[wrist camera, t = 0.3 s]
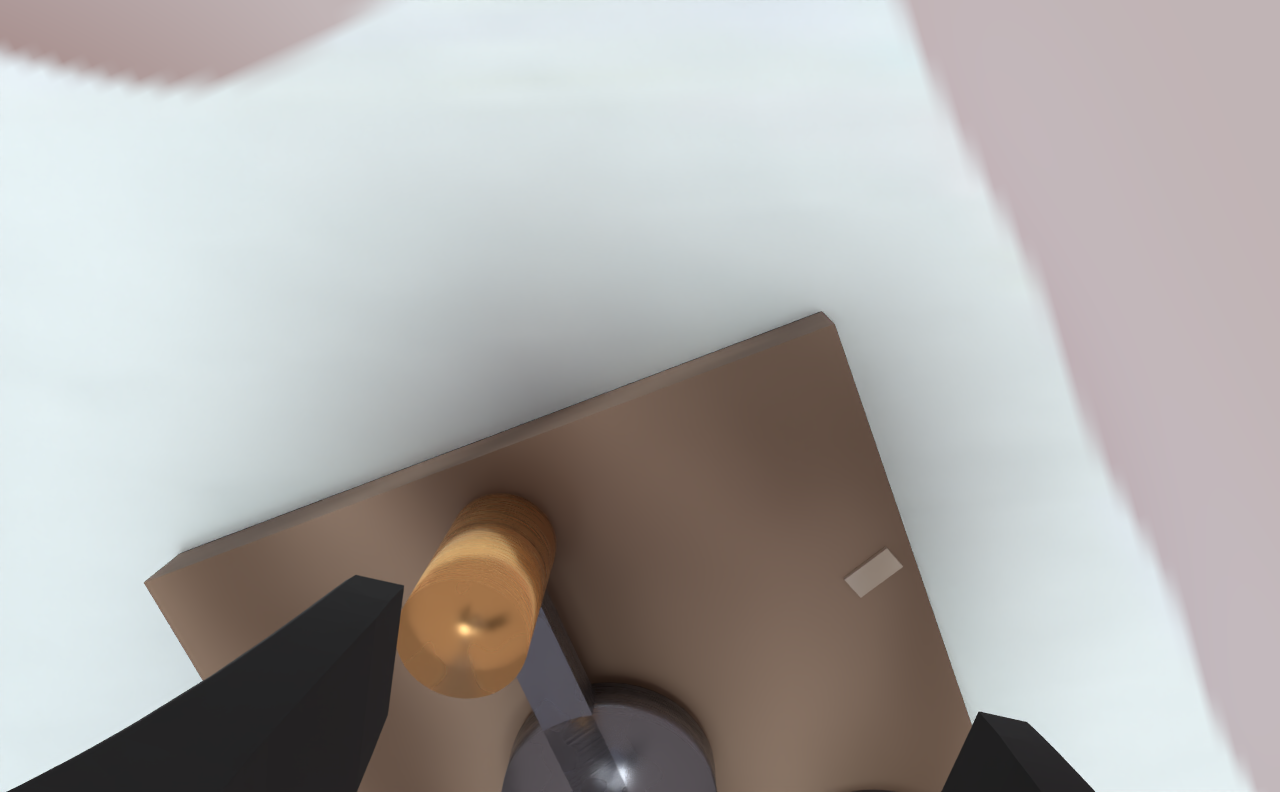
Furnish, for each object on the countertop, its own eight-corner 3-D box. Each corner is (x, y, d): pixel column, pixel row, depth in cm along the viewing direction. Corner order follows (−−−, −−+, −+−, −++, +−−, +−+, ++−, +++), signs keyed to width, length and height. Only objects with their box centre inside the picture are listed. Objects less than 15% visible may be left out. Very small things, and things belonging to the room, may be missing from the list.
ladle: (744, 822, 21) (761, 973, 17) (558, 878, 21) (534, 1035, 18) (584, 458, 18) (563, 537, 14) (380, 533, 19) (307, 628, 15)
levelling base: (461, 1035, 25) (432, 1156, 22) (179, 554, 21) (96, 620, 18) (1017, 880, 23) (1071, 990, 20) (822, 311, 19) (851, 340, 16)
